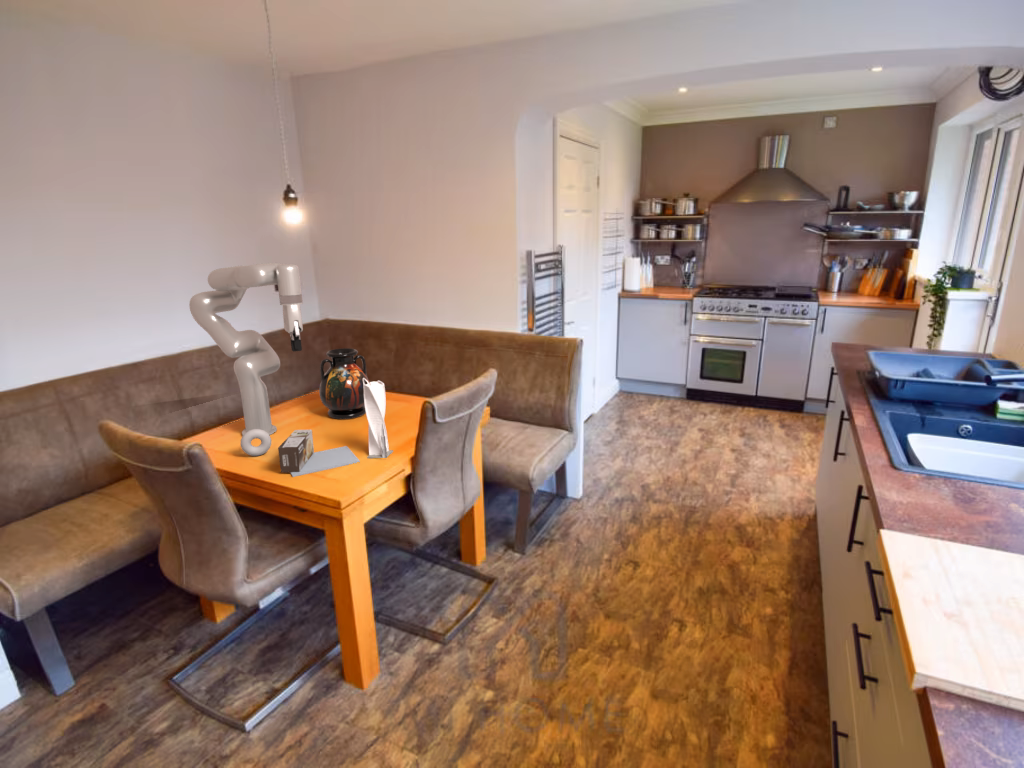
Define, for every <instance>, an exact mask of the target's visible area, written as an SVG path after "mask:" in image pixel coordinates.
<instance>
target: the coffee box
mask: <svg viewBox="0 0 1024 768" xmlns="http://www.w3.org/2000/svg"><path fill="white" fill-rule="evenodd" d="M314 448H315V447H314V438H313V430H312V429H294V430H293V432H292V433H291V434H289V435H288V437H286V439H285V440H284V441H283V442H282V443H281V445H279V446H278V448H277V450H278V458H279V466H280V473H290V472H300V470H301V469H302V468H303V466H304V465H305V464H306V463H307V461H308V460H309V459H310V457H311V456H312V455H313V453H314V452H315V450H314Z"/></svg>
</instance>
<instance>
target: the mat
mask: <svg viewBox="0 0 1024 768" xmlns="http://www.w3.org/2000/svg"><path fill="white" fill-rule="evenodd" d="M357 462H359V463H360V459H359V458H358V457H357V456H356V455H355V453H354V452H353V451H352V450H351V449H350V448H349V447H348V446H347V445H343V446H340V447H335V448H330V449H329V448H328V449H325V450H320V451H314V453H313V455H312V456H311V457H310V459H309V460H308V461H307V463H306V464H305V465H304V466H303V468H302V469H301V470H300V472H289V474H290V475H291V476H292V478H294V477H299V476H304V475H308V474H312V473H317V472H322V471H326V470H327V471H328V470H331V469H337V468H340V467H344V466H349V464H350V465H353V463H354V464H358V463H357Z"/></svg>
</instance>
